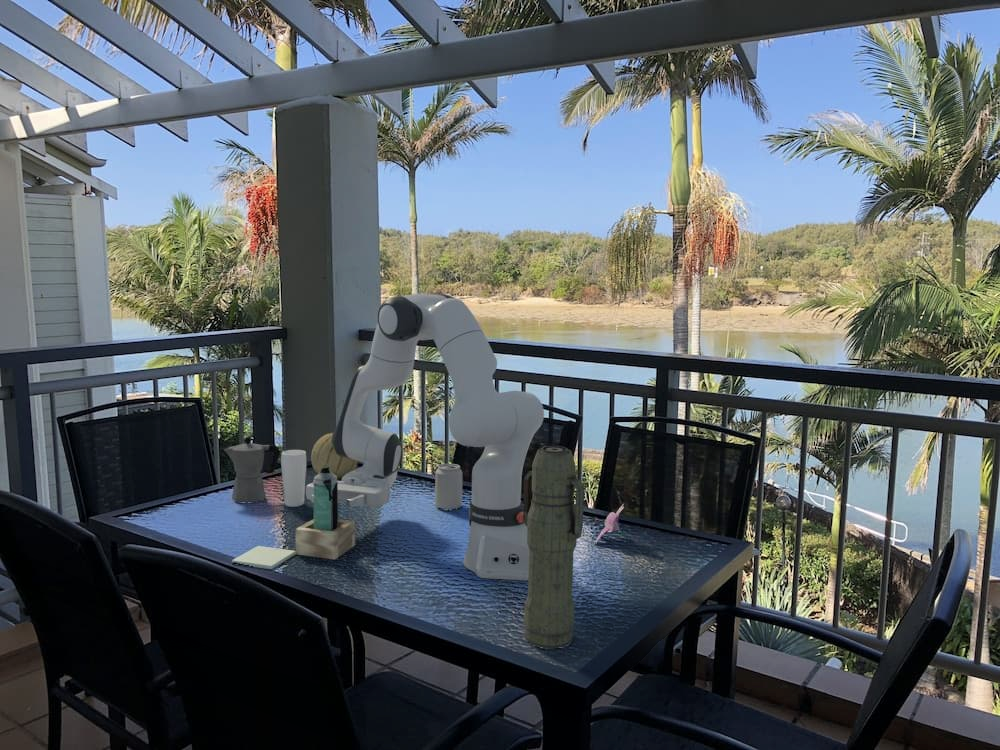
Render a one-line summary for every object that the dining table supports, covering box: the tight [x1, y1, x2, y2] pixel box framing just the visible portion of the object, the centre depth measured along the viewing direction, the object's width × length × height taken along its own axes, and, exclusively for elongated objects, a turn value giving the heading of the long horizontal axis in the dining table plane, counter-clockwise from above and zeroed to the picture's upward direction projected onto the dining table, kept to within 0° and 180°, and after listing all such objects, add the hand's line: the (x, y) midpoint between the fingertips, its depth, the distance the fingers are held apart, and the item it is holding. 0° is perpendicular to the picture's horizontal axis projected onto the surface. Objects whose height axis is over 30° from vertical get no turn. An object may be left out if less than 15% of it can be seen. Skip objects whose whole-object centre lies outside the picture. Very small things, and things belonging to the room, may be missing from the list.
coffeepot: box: [223, 436, 281, 504], centre depth 224 cm, size 15×9×18 cm, turn 100°
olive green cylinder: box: [523, 445, 585, 648], centre depth 140 cm, size 9×12×35 cm
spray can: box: [312, 466, 339, 531], centre depth 184 cm, size 6×6×20 cm
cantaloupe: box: [310, 432, 359, 481], centre depth 248 cm, size 15×15×15 cm
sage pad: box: [231, 545, 297, 570], centre depth 179 cm, size 10×10×1 cm
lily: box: [595, 503, 627, 543], centre depth 195 cm, size 12×12×10 cm
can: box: [434, 463, 463, 510], centre depth 220 cm, size 8×8×12 cm
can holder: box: [295, 518, 356, 561], centre depth 185 cm, size 10×10×6 cm
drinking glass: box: [280, 449, 307, 508], centre depth 219 cm, size 7×7×15 cm
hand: (331, 501), depth 186 cm, fingers open, 8 cm apart
